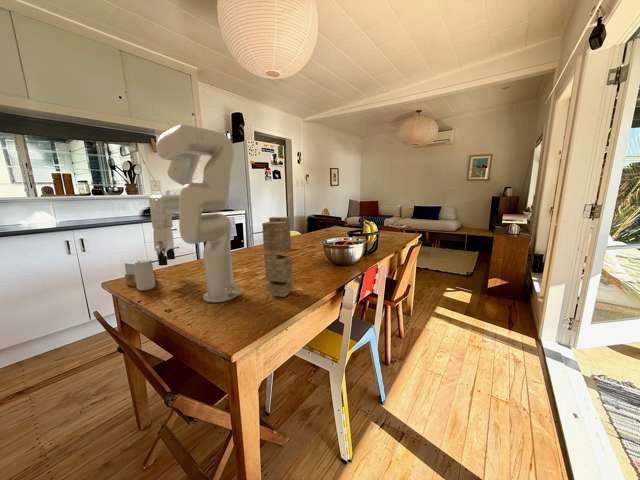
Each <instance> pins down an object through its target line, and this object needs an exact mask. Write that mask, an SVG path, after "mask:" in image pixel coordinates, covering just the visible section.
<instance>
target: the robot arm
mask: <svg viewBox="0 0 640 480" xmlns="http://www.w3.org/2000/svg"><path fill="white" fill-rule="evenodd" d="M155 145H156V152H157V154H158V156H159V157H160V158H161V159H163V160H166V161H170V163H169V166H168V169H167V175H168V178H170V179H171V180H172V181H173V182H175V183H177V184H179V185H182V188H181V190H180V192H179V194H167V195H166V194H163V195H161V194H160V195H151V196H150V197H148V203H149V209H150V210H149V211H150V218H151V226H152V229H153V248H154V252H156V256H157V260H158V266H167V265H168V260H170V261H171V260H175V259H176V255H175V247H174V246H175V242H174V241H175V239H174V235H173V234H174V233H173V230H172V228H173V227H174V224H173V217H172V215H173V214H178V218H179V219H178V224H179V225H178V227H179V229H178V231H179V235H180V238H181V240H183V242H185V243H186V244H189V245H196V244H202V243H205V245H204V248H203V250H202V251H203V253H202V254H203V264H204V265H203V266H204V273H205V274H204V275H205V282H206V283H205V284H206V292H205V293H204V294H203V296H202V298H203V300H204V301H205V302H207V303H223V302H226V301H231V300H232V299H235V298H236V297H237V296H240V295H241V294H242V291H243V289H242V287H237V284H236V283H235V282H234V275H233V264H232V251H231V236H232V230H233V229H232V227H233V226H232V221H231V219H230V218H229V217H228V216H227V215H226V214H223V213H216V211H223V210H225V209H226V208H227V207H228V205H229V200H230V199H229V198H230V197H229V196H230V186H231V185H230V184H231V183H230V182H231V170H232V165H233V162H234V161H233V160H234V158H235V157H234V156H235V155H234V154H235V152H234V147H233V143H232V141H231V140H230V138H229V137H228V136H227V135H225V134H224V133H222V132H219V131H215V130H212V129H208V128H203V127H198V126H194V125H189V124H179V125H176V126H174V127H172V128H170V129H169V130H167V131H165V132H163V133H162V134H161V135H160V136H159V138H158V140H157V142H156V144H155ZM202 156H207V157H210V158H209V160H207V162H206V163H205V165H204V167H203V173H202V174H203V178H202V182H194V181H193V177H194V175H195V172H196V169H197V167H198V164H199V161H200V159H201V157H202ZM203 212H204V213H205V212H206V214H203ZM207 212H215V213H207Z"/></svg>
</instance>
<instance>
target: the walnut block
mask: <svg viewBox="0 0 640 480" xmlns="http://www.w3.org/2000/svg"><path fill="white" fill-rule="evenodd" d="M153 272H154V279H155V282H156V281H157V274H156V273H157V272H156V270H155V269H153ZM124 279H125V285H126V286H132V287H137V285H136V278H135V275H128V274H126V273H124Z"/></svg>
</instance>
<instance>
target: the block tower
mask: <svg viewBox="0 0 640 480" xmlns="http://www.w3.org/2000/svg"><path fill="white" fill-rule="evenodd" d="M261 225H262V226H261V227H262V239H263V240H262V241H263V242H262V243H263V254H264V255H263V258H264V259H263V260H264V265H265V266H264V269H265V270H264V271H265V281H267V283H266V292H272V296H274V297H283V298H284V297H285V298H286V297H287V295H289V294H290V293H291V292H292V291H293V290H294V286H293V285H294V283H293V266H292V265H293V264H292V263H293V262H292V257H290V256H288V255H286V254H287V253H289V252H291V251H292V247H291V245H292V243H291V242H292V240H291V218H290V216H272V217H269V218H268V221H266V222H263V223H261Z"/></svg>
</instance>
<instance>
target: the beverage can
mask: <svg viewBox="0 0 640 480" xmlns="http://www.w3.org/2000/svg"><path fill="white" fill-rule="evenodd" d="M137 260H138V261H135V260H134V261H135V262H134V263H135V264H134V272H135V278H136V285H137V286H136V288H137V290H139V291H141V292H145V291H149V290H152V289H154V287H155V286H156V281H155V279H154V272H153V270H154V266H153V261H152V262H151V260H152V259H149V258H145V260H139V259H137Z"/></svg>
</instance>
